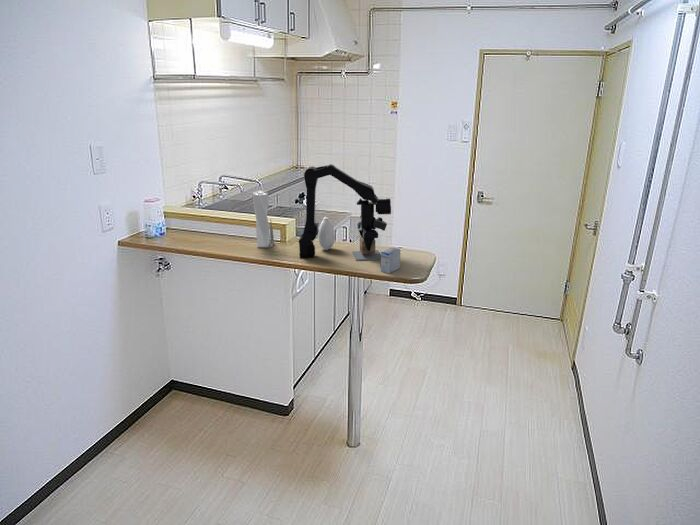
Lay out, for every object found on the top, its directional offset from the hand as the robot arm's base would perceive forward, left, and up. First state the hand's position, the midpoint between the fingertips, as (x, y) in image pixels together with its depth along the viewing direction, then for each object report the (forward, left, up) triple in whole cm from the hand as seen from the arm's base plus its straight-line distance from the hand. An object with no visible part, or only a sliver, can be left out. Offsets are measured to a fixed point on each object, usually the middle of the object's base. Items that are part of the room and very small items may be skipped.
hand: (367, 248), depth 225 cm
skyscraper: (-46, +24, -4) cm, 52 cm away
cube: (0, 0, -2) cm, 2 cm away
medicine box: (+6, -20, -4) cm, 21 cm away
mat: (0, 0, -4) cm, 4 cm away
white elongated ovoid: (-17, +13, -4) cm, 22 cm away
